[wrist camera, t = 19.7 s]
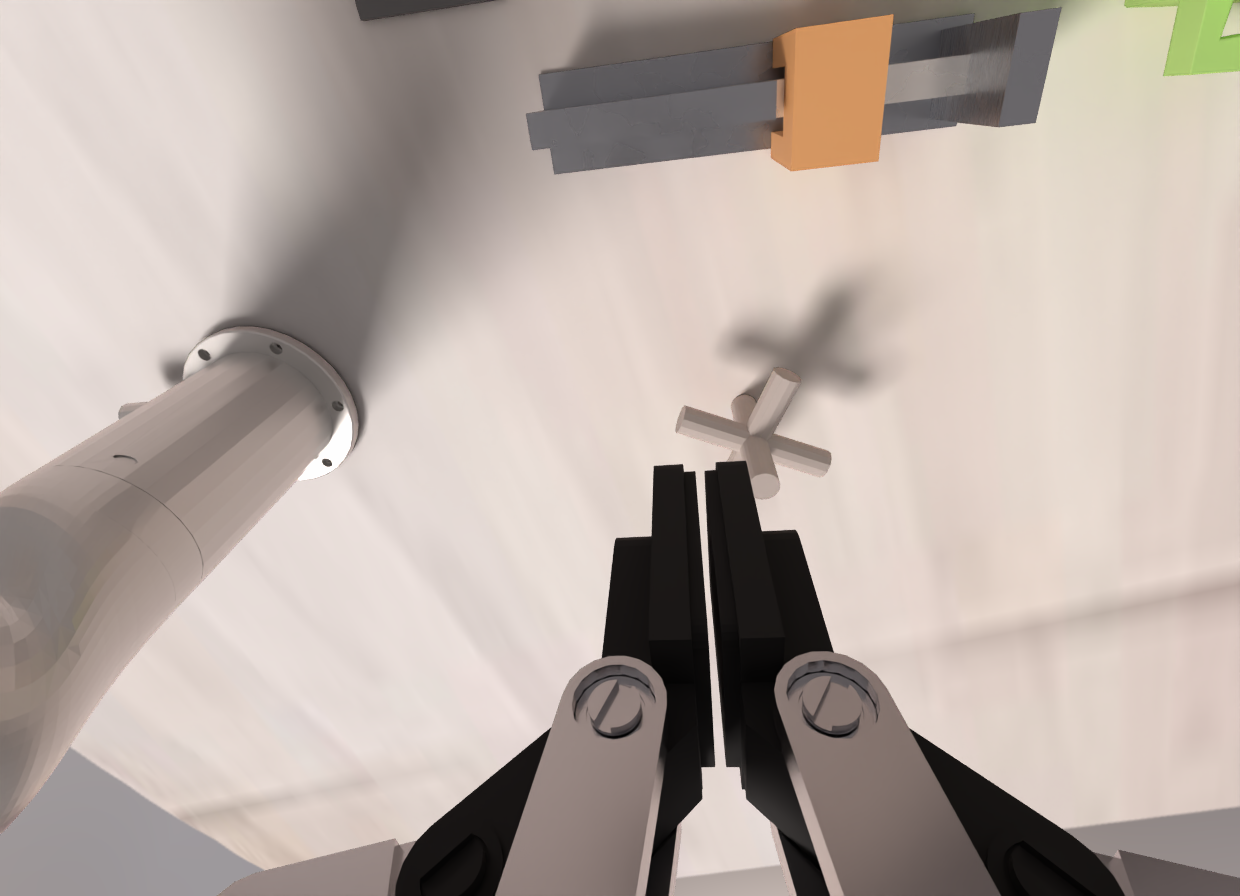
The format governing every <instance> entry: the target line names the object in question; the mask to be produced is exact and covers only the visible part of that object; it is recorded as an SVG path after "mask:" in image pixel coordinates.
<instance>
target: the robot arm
mask: <svg viewBox="0 0 1240 896" xmlns="http://www.w3.org/2000/svg"><path fill="white" fill-rule="evenodd" d="M182 380H183V381H182V382H180V383H179V384H177V385H175V386H174V387H172V388H170V389H169V390H167V391H166V392H164V393H162V394H161V395H159V396H157V397H156V398H154V399H152V400H151V401H149V402H140V403H128V404H125V405H123V406H121V408H120V410H119V420H118V421H116V422H115V423H113V424H111V425H110V426H108V427H106V428H105V429H103V430H101V431H100V432H98V433H96V434H95V435H93V436H91V437H90V438H88V439H87V440H85V441H83V442H82V443H80V444H78V445H77V446H75V447H73V448H72V449H70V450H68V451H67V452H65V453H64V454H62V455H60V456H59V457H57V458H55V459H54V460H52V461H50V462H49V463H47V464H45V465H44V466H42V467H40V468H39V469H37V470H36V471H34V472H32V473H30V474H28V475H27V476H25V477H23V478H22V479H20V480H19V481H17V482H15V483H14V484H12V485H10V486H9V487H7V488H6V489H5V490H3V491H2V492H1V493H0V835H1V834H2V833H3V832H4V831H5V830H6V829H7V828H8V827H9V826H10V824H11V823H12V822H13V821H14V820H15V819H16V817H18V815H19V814H20V813H21V812H22V811H23V810H24V809H25V807H26V806H27V805H28V804H29V803H30V802H31V800H32V799H33V798H34V797H35V796H36V794H37V793H38V792H39V790H40V789H41V788H42V786H43V785H44V784H45V782H46V781H47V779H48V778H49V777H50V775H51V774H52V773H53V771H54V770H55V768H56V767H57V765H58V764H59V762H60V760H61V759H62V758H63V756H64V755H65V753H66V752H67V750H68V749H69V747H70V746H71V744H72V743H73V741H74V740H75V738H76V737H77V735H78V733H79V732H80V730H81V729H82V727H83V726H84V724H85V723H86V721H87V720H88V718H89V717H90V715H91V714H92V712H93V711H94V709H95V708H96V707H97V705H98V704H99V702H100V701H101V699H102V698H103V696H104V695H105V694H106V692H107V691H108V690H109V688H110V687H111V686H112V684H113V683H114V682H115V680H116V679H117V678H118V676H119V675H120V674H121V672H122V671H123V670H124V668H125V667H126V666H127V665H128V664H129V662H130V661H131V660H132V659H133V658H134V656H135V655H136V654H137V653H138V652H139V650H140V649H141V648H142V647H143V646H144V644H145V643H146V642H147V641H148V640H149V639H150V637H151V636H152V635H153V634H154V633H155V632H156V631H157V630H158V629H159V627H160V626H161V625H162V624H163V623H164V622H165V621H166V620H167V619H168V617H169V616H170V615H171V614H172V613H173V612H174V611H175V610H176V609H177V608H178V607H179V606H180V604H181V603H182V602H183V601H184V600H185V599H186V598H187V597H188V596H189V595H190V594H191V593H192V592H193V591H194V589H196V588H197V587H198V586H199V584H200V583H201V582H202V581H203V580H204V579H205V578H206V577H207V576H208V575H209V574H210V573H211V572H212V571H213V570H214V569H215V567H216V566H217V565H218V564H219V563H220V562H221V561H222V560H223V559H224V558H225V557H226V556H227V555H228V554H229V553H230V551H231V550H232V549H233V548H234V547H235V546H236V545H237V544H238V543H239V542H240V541H241V540H242V539H243V538H244V537H245V535H246V534H247V533H248V532H249V531H250V530H251V529H252V528H253V527H254V526H255V525H256V524H257V523H258V522H259V521H260V519H261V518H262V517H263V516H264V515H265V514H266V513H267V512H268V511H269V510H270V509H271V508H272V507H273V506H274V505H275V503H276V502H277V501H278V500H279V499H280V498H281V497H282V496H283V495H284V494H285V493H286V492H287V491H288V490H289V489H290V487H291V486H292V485H293V484H294V483H295V482H296V481H297V480H306V479H313V478H318V477H320V476H323V475H326V474H328V473H330V472H331V471H333V470H334V469H336V468H337V467H339V466H340V464H341V463H342V462H343V461H344V460H345V459H346V458H347V457H348V455H349V454H350V452H351V451H352V450H353V448H354V445H355V443H356V440H357V437H358V426H359V423H358V415H357V410H356V407H355V404H354V401H353V398H352V395H351V394H350V392H349V390H348V388H347V386H346V385H345V383H344V381H343V380H342V379H341V377H340V376H339V375H338V374H337V372H336V371H335V370H334V368H333V367H332V366H331V365H330V364H328V363H327V362H326V361H325V360H324V359H323V358H322V357H321V356H320V355H319V354H317V353H316V352H315V351H313V350H312V349H310V348H309V347H308V346H306V345H305V344H303V343H301V342H299V341H297V340H295V339H294V338H292V337H290V336H288V335H285V334H282V333H279V332H276V331H273V330H270V329H265V328H259V327H233V328H228V329H223V330H221V331H219V332H217V333H215V334H213V335H211V336H209V337H207V338H206V339H204V340H202V341H201V342H199V343H198V344H197V345H196V346H195V347H194V349H193V350H192V351H191V352H190V353H189V355H188V358H187V360H186V362H185V364H184V370H183V377H182ZM705 492H706V513H707V534H708V555H709V576H710V592H711V603H712V615H713V626H714V637H715V648H716V659H717V670H718V681H719V692H720V703H721V714H722V725H723V737H724V748H725V759H726V767H740V775H741V784H742V789H745V791H746V799H747V800H748V801H749V802H750V803H751V804H752V805H753V806H755V807H756V808H757V809H758V810H759V811H760V812H761V813H762V814H763V815H764V816H765V817H766V818H768V819H769V820H770V824H771V832H772V836H773V839H774V843H775V846H776V850H777V853H778V857H779V861H780V864H781V868H782V871H783V875H784V878H785V881H786V885H787V889H788V892H789V896H1240V878H1237V877H1233V876H1229V875H1224V874H1220V873H1216V872H1212V871H1207V870H1203V869H1198V868H1195V867H1190V866H1186V865H1182V864H1177V863H1173V862H1169V861H1164V860H1160V859H1156V858H1152V857H1147V856H1143V855H1139V854H1134V853H1130V852H1126V851H1122V850H1118V851H1117V852H1116V854H1115V855H1114V857H1111V856H1107V855H1103V854H1099V853H1095V852H1092V851H1091V850H1089V849H1088V848H1087V847H1086V846H1084V845H1083V844H1082V843H1081V842H1079V841H1078V840H1077V839H1076V838H1074V837H1073V836H1072V835H1070V834H1069V833H1067V832H1066V831H1064V830H1063V829H1061V828H1060V827H1058V826H1057V825H1055V824H1054V823H1052V822H1051V821H1049V820H1048V819H1046V818H1045V817H1043V816H1042V815H1040V814H1039V813H1037V812H1036V811H1034V810H1033V809H1031V808H1030V807H1028V806H1027V805H1025V804H1023V803H1022V802H1020V801H1019V800H1017V799H1016V798H1014V797H1013V796H1011V795H1010V794H1008V793H1007V792H1005V791H1004V790H1002V789H1001V788H999V787H998V786H996V785H995V784H993V783H992V782H990V781H989V780H987V779H986V778H984V777H983V776H981V775H980V774H978V773H976V772H975V771H973V770H972V769H970V768H969V767H967V766H966V765H964V764H963V763H961V762H960V761H958V760H957V759H955V758H954V757H952V756H951V755H949V754H948V753H946V752H945V751H943V750H942V749H940V748H939V747H937V746H936V745H934V744H933V743H931V742H929V741H928V740H926V739H925V738H923V737H922V736H920V735H919V734H917V733H916V732H914V731H913V730H911V729H910V728H909V727H908V726H907V724H906V722H905V720H904V718H903V717H902V715H901V713H900V711H899V709H898V708H897V706H896V704H895V702H894V700H893V698H892V697H891V695H890V693H889V691H888V689H887V688H886V687H885V685H884V684H883V683H882V681H881V680H880V679H879V677H878V676H877V675H876V674H875V673H874V672H873V671H871V670H870V669H869V668H868V667H866V666H865V665H864V664H863V663H861V662H859V661H857V660H854V659H852V658H850V657H848V656H846V655H842V654H838V653H834V652H833V648H832V645H831V642H830V638H829V635H828V631H827V628H826V625H825V621H824V618H823V615H822V611H821V608H820V605H819V601H818V598H817V595H816V591H815V588H814V585H813V581H812V578H811V575H810V571H809V568H808V565H807V561H806V558H805V555H804V551H803V548H802V545H801V541H800V538H799V535H798V533H797V531H796V530H782V531H762V530H761V526H760V521H759V517H758V512H757V508H756V503H755V498H754V494H753V489H752V485H751V480H750V475H749V471H748V466H747V462H746V461H730V462H716V470H710V471H705ZM701 767H715V755H714V736H713V717H712V698H711V679H710V660H709V643H708V628H707V615H706V602H705V589H704V577H703V564H702V551H701V538H700V526H699V513H698V500H697V488H696V475H695V471H693V472H684V469H683V464H679V465H663V466H654V474H653V508H652V536H651V537H629V538H616V540H615V545H614V553H613V562H612V571H611V580H610V589H609V598H608V607H607V616H606V625H605V634H604V643H603V652H602V658H601V659H598V660H594V661H593V662H591V663H589V664H588V665H586V666H584V667H583V668H581V669H580V670H579V671H578V672H577V673H576V674H575V675H574V676H573V677H572V678H571V679H570V681H569V682H568V684H567V686H566V688H565V690H564V692H563V694H562V697H561V700H560V703H559V706H558V709H557V712H556V715H555V718H554V721H553V724H552V727H551V728H550V729H549V730H547V731H546V732H545V733H544V734H542V735H541V736H540V737H539V738H538V739H536V740H535V741H534V742H533V743H532V744H530V745H529V746H528V747H527V748H525V749H524V750H523V751H522V752H521V753H519V754H518V755H517V756H516V757H515V758H513V759H512V760H511V761H510V762H508V763H507V764H506V765H505V766H504V767H502V768H501V769H500V770H499V771H498V772H496V773H495V774H494V775H493V776H491V777H490V778H489V779H488V780H487V781H485V782H484V783H483V784H482V785H480V786H479V787H478V788H477V789H476V790H474V791H473V792H472V793H471V794H470V795H468V796H467V797H466V798H465V799H463V800H462V801H461V802H460V803H459V804H457V805H456V806H455V807H454V808H453V809H451V810H450V811H449V812H448V813H446V814H445V815H444V816H443V817H442V818H440V819H439V820H438V821H437V822H435V823H434V824H433V825H432V826H431V827H430V828H429V829H428V830H427V831H426V832H425V833H424V834H423V835H422V836H421V837H420V838H419V839H418V840H417V841H413V842H409V843H405V844H401V845H399V843H398V842H397V840H396V839H391V840H387V841H383V842H379V843H375V844H371V845H367V846H363V847H359V848H355V849H350V850H346V851H342V852H338V853H334V854H330V855H326V856H322V857H318V858H314V859H310V860H306V861H302V862H298V863H294V864H290V865H286V866H282V867H277V868H273V869H269V870H265V871H261V872H258V873H254V874H252V875H249V876H247V877H245V878H242V879H240V880H238V881H235V882H234V883H233V884H231V885H230V886H229V887H227V888H226V889H225V890H223V891H222V892H221V893H220V894H219V895H217V896H674V891H675V882H676V874H677V865H678V857H679V848H680V840H681V821H682V820H683V819H684V818H685V817H686V816H687V815H688V814H689V813H690V812H691V811H692V809H693V808H694V807H695V806H696V805H697V804H698V803H699V802H700V801H701V800H702V789H703V788H702V769H701Z"/></svg>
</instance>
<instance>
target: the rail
mask: <svg viewBox="0 0 1240 896" xmlns="http://www.w3.org/2000/svg"><path fill="white" fill-rule="evenodd" d="M1060 12H1061V7H1060V8H1053V9H1046V10H1039V11H1032V12H1025V13H1018V14H1014V15H1009V16H1004V17H1000V18H995V19H990V20H985V21H981V22H976V23H973V20H974V14H975V13H973V14H966V15H959V16H952V17H944V18H937V19H930V20H923V21H916V22H909V23H902V24H895V25H893V26H892V35H891V45H890V54H889V64H888V73H887V83H886V93H885V102H884V112H883V121H882V131H881V135H886V134H894V133H902V132H910V131H919V130H927V129H935V128H944V127H952V126H956V124H957V122H958V123H966V124H975V125H983V126H992V127H1005V126H1013V125H1022V124H1030V123H1036V119H1037V114H1038V110H1039V106H1040V101H1041V97H1042V92H1043V88H1044V83H1045V79H1046V74H1047V70H1048V65H1049V61H1050V56H1051V52H1052V48H1053V43H1054V39H1055V34H1056V30H1057V25H1058V21H1059V16H1060ZM772 63H773V42H767V43H760V44H753V45H746V46H739V47H732V48H725V49H718V50H710V51H703V52H696V53H689V54H682V55H675V56H668V57H661V58H654V59H647V60H640V61H632V62H625V63H618V64H611V65H604V66H597V67H590V68H583V69H576V70H569V71H562V72H554V73H547V74H540V75H539V80H540V86H541V93H542V99H543V105H544V111H538V112H533V113H527V114H526V117H527V123H528V129H529V135H530V140H531V146H532V150H538V149H546V148H550V150H551V156H552V162H553V169H554V174H561V173H570V172H578V171H586V170H595V169H603V168H611V167H619V166H628V165H636V164H644V163H653V162H661V161H669V160H678V159H686V158H694V157H703V156H711V155H719V154H728V153H736V152H744V151H752V150H761V149H769V148H771V132H776V131H783V118H784V81H785V67H779V68H772Z"/></svg>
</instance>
